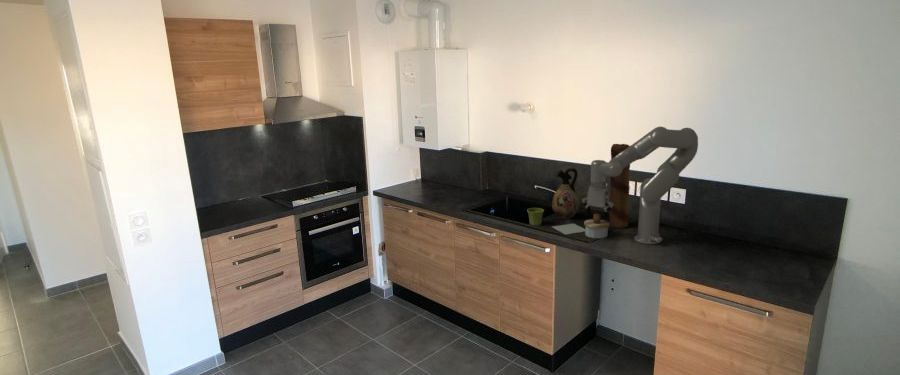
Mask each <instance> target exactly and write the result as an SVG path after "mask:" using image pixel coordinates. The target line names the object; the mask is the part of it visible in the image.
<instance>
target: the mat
mask: <svg viewBox="0 0 900 375" xmlns="http://www.w3.org/2000/svg"><path fill="white" fill-rule="evenodd" d="M552 228H553V229H555V230H557V231H558V232H560V233H562V234H563V235H570V234H577V233H583V232H584V233H585V228H584V227H582V226H580V225H577V224H576V223H568V224H562V225H561V224H560V225H555V226H554V225H553V226H552Z"/></svg>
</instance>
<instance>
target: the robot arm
mask: <svg viewBox="0 0 900 375" xmlns="http://www.w3.org/2000/svg"><path fill="white" fill-rule="evenodd" d="M629 146H630V147H628V148H627V149H625V150H624V151H622V152H621V153H620V154H618V155H617V156H615V157H614V158H613V159H611V158H610V160H609V161H605V160H602V159H595V160H592V161H591V163H590V182H589V185H590V186H589V187H588V190H587V196H585V197H583V198H581V202H582V204H583V206H584V208H585V214H586V215H585V216H586V217H588V216H591V212H592V211H591V207H596V208H601V209H603V210H604V211H603V219H604V220H607V219H609V214H610V211H609V210H611V209H612V207H613V206H614V204H613V203H612V202H611V201H610V195H609V190H608V186H609V183H607V177H610V176H611V177H617V176H619V175H620V174H621V173H622V170H623V169H624V168H625V167H627V166H628V165H629V164H630V165H631V164H632V163H634V162H636V161H638V160H642V159H644V158H646V157H647V156H648V155H650V154H651V153H653V152H654V151H656V150H657V149H659V148H667V149H668V148H669V149H675V151H674V152H673V153H672V154H671V155H670V156H669V157H668V158H667V159H666V160H665V161H664V162H663V163H662V164H661V165H659V167H658V168H657V170H656V173H655V174H654V175H653V176H652V177H649V178H645V179H644V180H643V181H641V184H640V186H639V207H638V208H639V209H638V223H637V224H638V225H637V235H635V236H634V237H633V240H634V241H635V242H637V243H640V244H645V245H657V244H660V243H661V242H662V241H663V240H664V238H663V237H661V236H660V233H659V227H660V213H661V200H662V198H663V197H664V196H665V195H666V194H667V193H668V192H669V191H670V190H671V189H672V188H673V187H674V186H675V185H676V184H677V183H678V182H679V179H680V175H681V173H682V172H683V171H684V170H685V169H686V167H687V166H689V164H691V162H693V160H694V158H695V157H696V155H697V153H698V149H699V137H698V134H697V133H696V131H695V130H694V128H691V127H684V128H681V129H668V128H666V127H664V126H656V127H654V128H653V129H652V130H651V131H649V132H648V133H646V134H645V135H643V136H642V137H641V138H639V139H638V140H637V141H635V142H633V143H632V144H631V145H629ZM609 205H610V206H609Z"/></svg>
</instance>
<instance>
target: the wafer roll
mask: <svg viewBox="0 0 900 375" xmlns="http://www.w3.org/2000/svg"><path fill="white" fill-rule="evenodd" d="M630 146H631V145H629V144H627V143H614V144H612V145H611V147H610V160H611V159H613V158H614V157H615V156H617V155H618V154H620V153H621V152H622V151H624V150H625V149H627V148H628V147H630ZM630 168H631V164H629V165H628V166H627V167H625V168H624V169H623V170H622V173H621V174H620V175H619V176H617V177H611V176H609V178H610V179H609V180H610V181H609V182H610V183H609V185H610V189H609V190H610V191H609V201H611V202H612V203H613V204H614V206H613V207H612V209H611V210H609V227H612V228H616V229H625V228H627V227H628V226H629V219H630V216H629V199H630ZM609 206H610V205H608V207H609Z"/></svg>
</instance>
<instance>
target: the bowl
mask: <svg viewBox="0 0 900 375" xmlns="http://www.w3.org/2000/svg"><path fill="white" fill-rule="evenodd" d="M584 227H585V228H584V229H585V231H584V234H585V236H586V237H588V238H592V239H605V238H607V237H608V228H609V227H608V228H604V229H593V228H589V227H586V226H585V225H584Z"/></svg>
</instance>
